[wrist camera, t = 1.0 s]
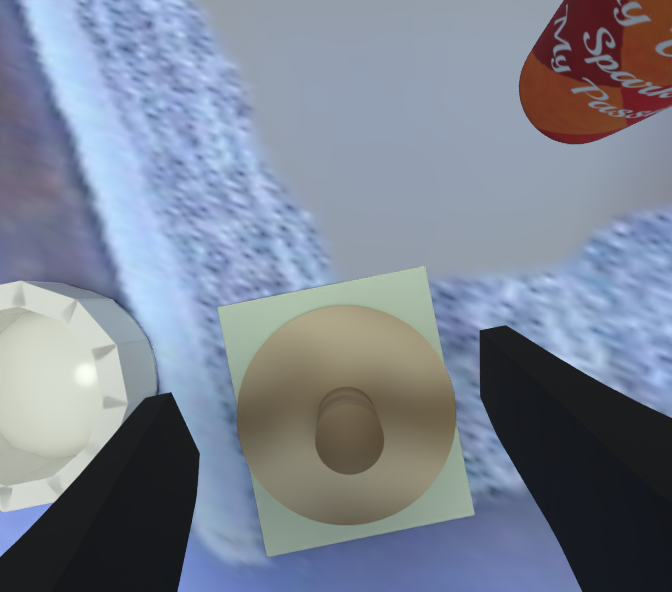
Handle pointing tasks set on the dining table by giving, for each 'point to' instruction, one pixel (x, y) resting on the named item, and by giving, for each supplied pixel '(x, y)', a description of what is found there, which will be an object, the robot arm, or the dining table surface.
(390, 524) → the mat
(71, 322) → the bowl
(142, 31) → the dining table surface
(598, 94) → the paper cup
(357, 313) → the lid
